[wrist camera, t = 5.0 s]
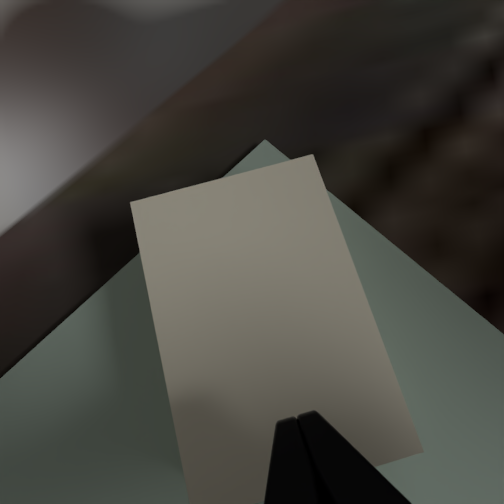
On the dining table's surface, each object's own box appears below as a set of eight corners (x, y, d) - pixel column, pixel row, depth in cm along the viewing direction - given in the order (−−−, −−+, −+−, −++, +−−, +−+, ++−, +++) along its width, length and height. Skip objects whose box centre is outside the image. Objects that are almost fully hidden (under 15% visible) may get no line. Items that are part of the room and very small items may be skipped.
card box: (424, 451, 11) (312, 154, 13) (193, 522, 10) (129, 202, 13) (387, 438, 14) (304, 201, 17) (211, 491, 14) (158, 241, 16)
